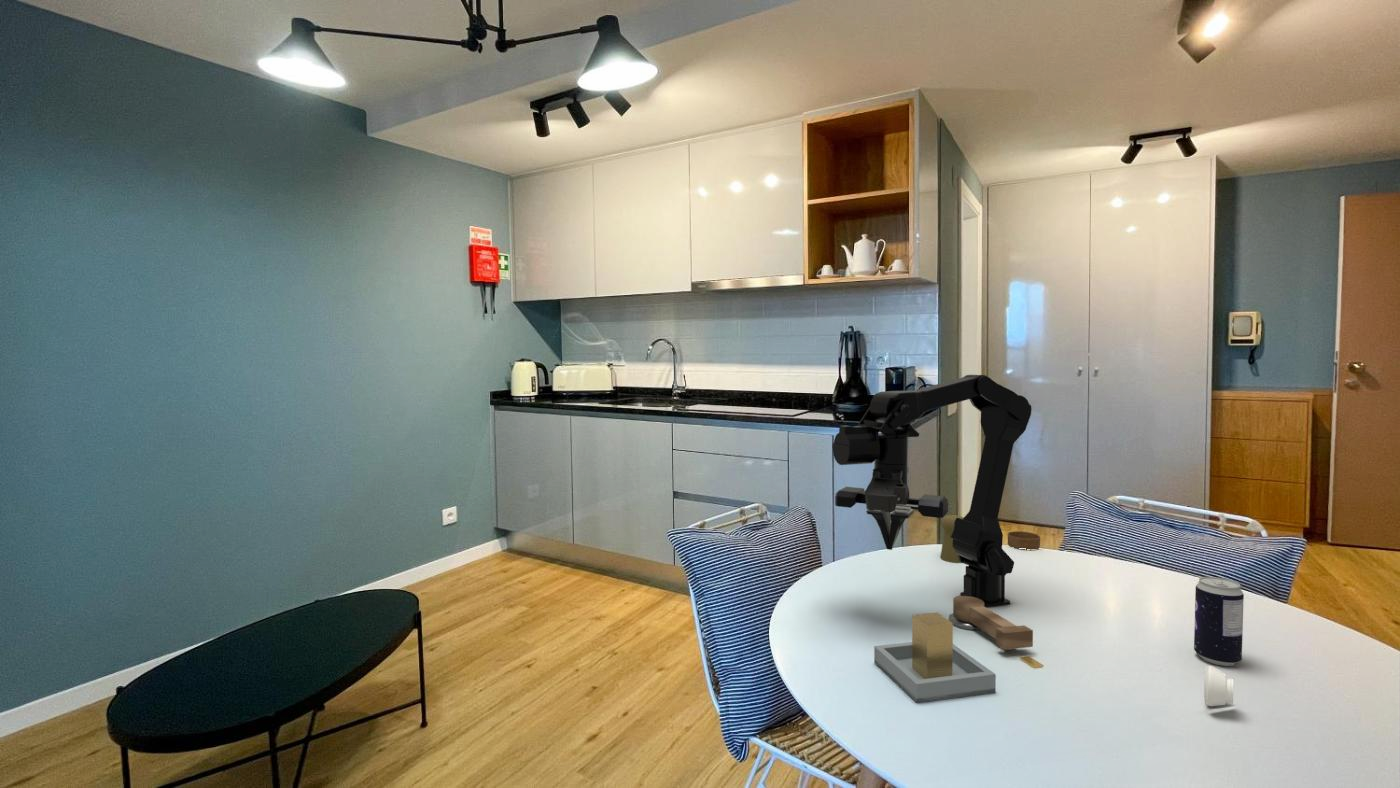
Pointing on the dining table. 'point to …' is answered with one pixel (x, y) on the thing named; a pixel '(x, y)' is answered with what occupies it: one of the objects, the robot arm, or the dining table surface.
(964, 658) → the tray
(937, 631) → the wooden block
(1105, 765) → the dining table surface
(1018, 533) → the brown round basket
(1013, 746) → the dining table surface
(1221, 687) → the white jar
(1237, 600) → the beverage can
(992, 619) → the crank
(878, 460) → the robot arm
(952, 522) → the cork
